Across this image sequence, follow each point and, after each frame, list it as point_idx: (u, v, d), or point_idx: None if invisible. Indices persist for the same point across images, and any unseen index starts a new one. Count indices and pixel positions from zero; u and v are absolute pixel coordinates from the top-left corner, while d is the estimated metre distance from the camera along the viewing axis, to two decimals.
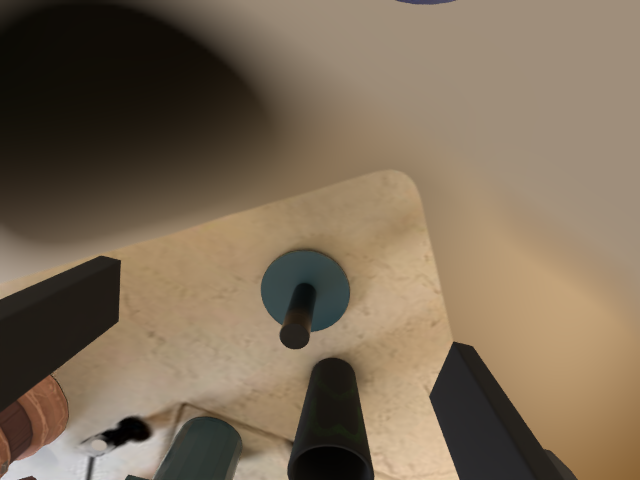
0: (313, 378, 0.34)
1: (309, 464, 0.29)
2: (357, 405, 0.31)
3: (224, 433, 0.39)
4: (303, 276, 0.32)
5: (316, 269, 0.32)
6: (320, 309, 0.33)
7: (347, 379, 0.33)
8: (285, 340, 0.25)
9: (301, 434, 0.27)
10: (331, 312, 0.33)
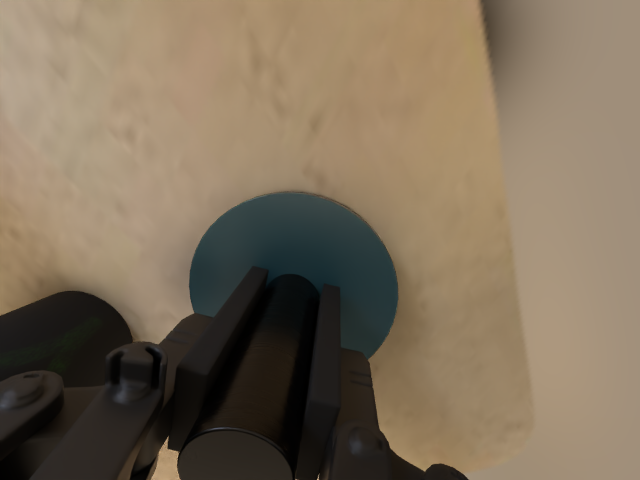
0: (66, 328, 0.13)
1: None
2: None
3: None
4: None
5: (353, 324, 0.14)
6: None
7: None
8: (213, 447, 0.06)
9: None
10: None
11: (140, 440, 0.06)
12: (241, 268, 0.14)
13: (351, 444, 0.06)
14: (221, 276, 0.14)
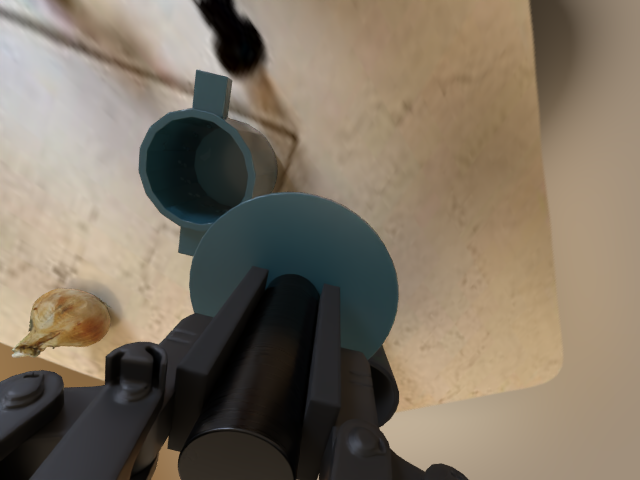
0: None
1: None
2: None
3: None
4: None
5: (353, 325, 0.14)
6: None
7: None
8: (213, 448, 0.06)
9: (381, 356, 0.24)
10: None
11: (140, 440, 0.06)
12: (241, 268, 0.14)
13: (351, 444, 0.06)
14: (221, 276, 0.14)
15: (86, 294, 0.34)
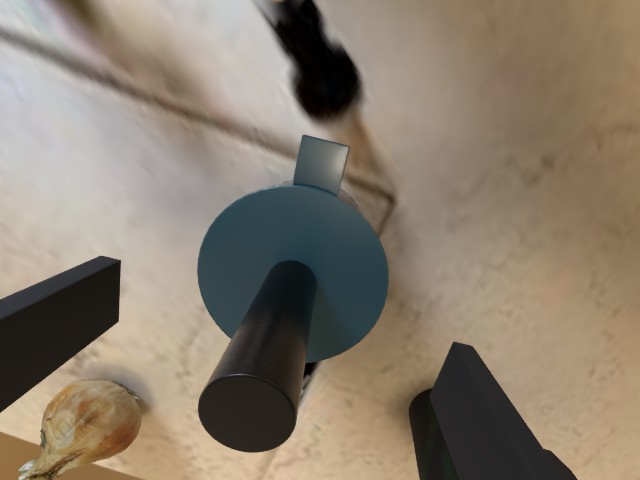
0: None
1: None
2: None
3: None
4: (331, 282, 0.15)
5: (347, 307, 0.16)
6: None
7: None
8: (228, 391, 0.07)
9: None
10: None
11: None
12: (245, 255, 0.15)
13: None
14: (227, 262, 0.15)
15: (112, 390, 0.26)
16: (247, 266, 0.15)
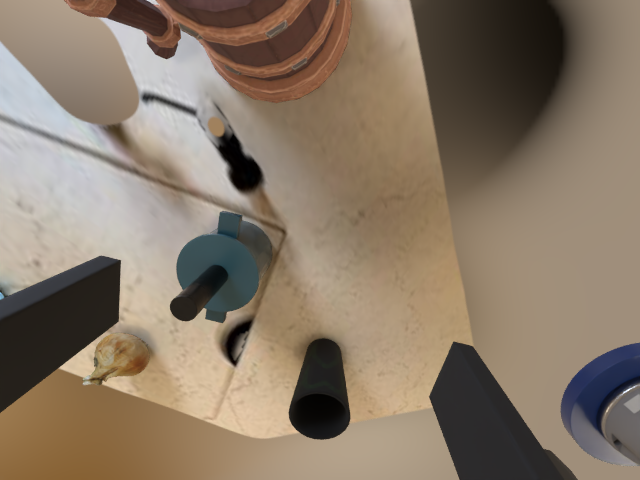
0: (335, 352, 0.45)
1: None
2: None
3: None
4: (234, 274, 0.35)
5: (242, 285, 0.35)
6: None
7: None
8: (178, 301, 0.27)
9: (339, 388, 0.37)
10: None
11: None
12: (196, 262, 0.35)
13: None
14: (189, 265, 0.35)
15: (133, 338, 0.46)
16: (197, 267, 0.35)
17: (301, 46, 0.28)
